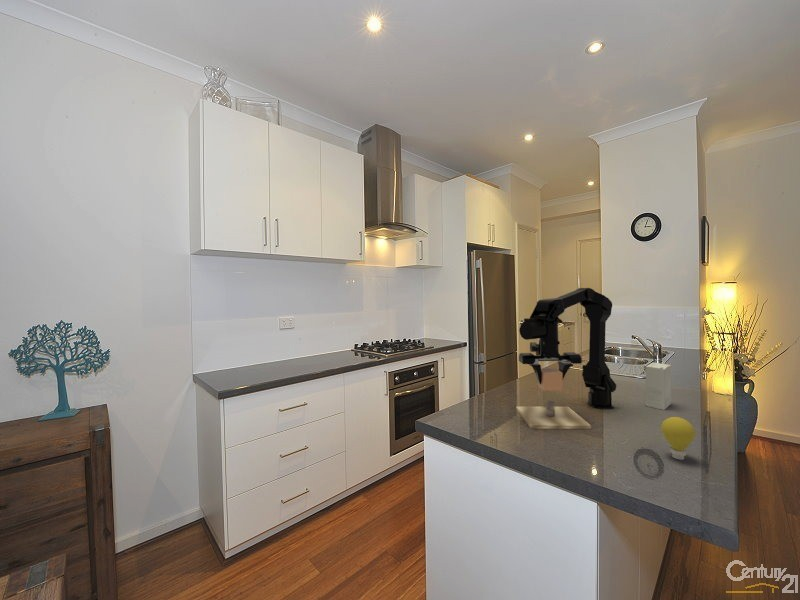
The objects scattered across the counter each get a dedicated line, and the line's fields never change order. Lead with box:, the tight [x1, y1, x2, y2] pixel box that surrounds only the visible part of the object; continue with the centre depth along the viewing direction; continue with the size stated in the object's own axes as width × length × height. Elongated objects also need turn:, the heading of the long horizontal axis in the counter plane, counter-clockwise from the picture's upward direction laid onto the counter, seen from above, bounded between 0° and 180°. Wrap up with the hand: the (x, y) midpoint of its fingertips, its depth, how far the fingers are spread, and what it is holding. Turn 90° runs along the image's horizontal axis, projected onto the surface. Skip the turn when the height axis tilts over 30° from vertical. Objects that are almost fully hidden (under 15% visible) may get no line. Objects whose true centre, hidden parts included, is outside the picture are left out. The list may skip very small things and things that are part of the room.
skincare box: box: [645, 362, 672, 411], centre depth 125 cm, size 8×6×15 cm
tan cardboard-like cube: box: [537, 368, 564, 392], centre depth 116 cm, size 6×6×6 cm
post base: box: [515, 400, 592, 430], centre depth 116 cm, size 18×18×6 cm
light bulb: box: [660, 416, 696, 460], centre depth 87 cm, size 7×7×10 cm
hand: (550, 383), depth 116 cm, fingers closed on tan cardboard-like cube, 6 cm apart
